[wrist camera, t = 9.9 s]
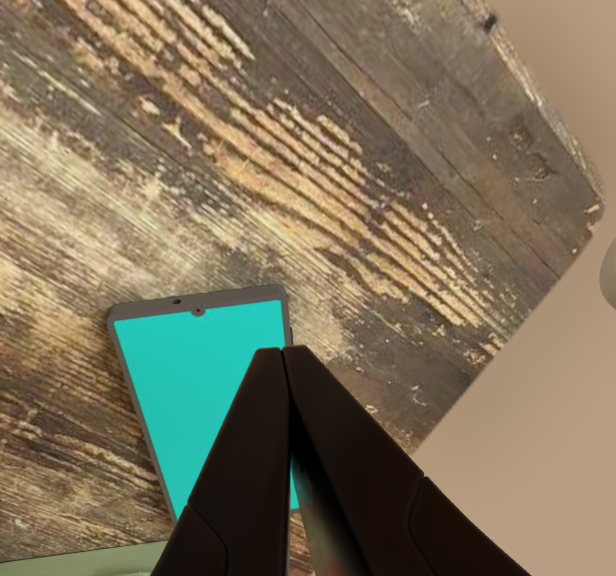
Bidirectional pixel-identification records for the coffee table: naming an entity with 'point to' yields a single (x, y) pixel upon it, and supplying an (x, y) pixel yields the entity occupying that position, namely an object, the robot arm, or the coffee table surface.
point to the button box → (91, 562)
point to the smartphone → (192, 371)
